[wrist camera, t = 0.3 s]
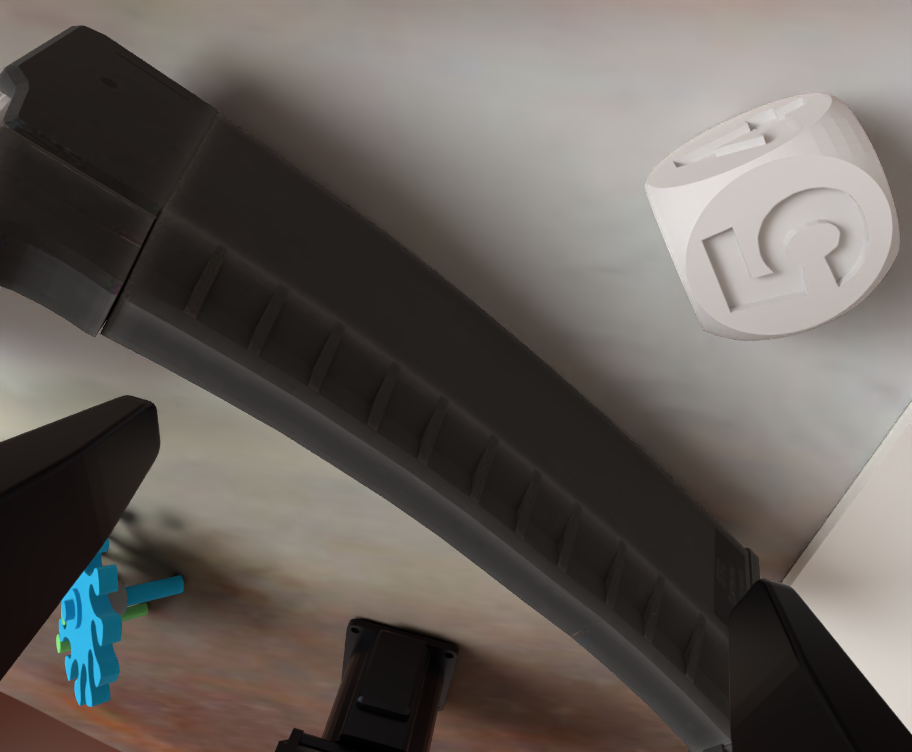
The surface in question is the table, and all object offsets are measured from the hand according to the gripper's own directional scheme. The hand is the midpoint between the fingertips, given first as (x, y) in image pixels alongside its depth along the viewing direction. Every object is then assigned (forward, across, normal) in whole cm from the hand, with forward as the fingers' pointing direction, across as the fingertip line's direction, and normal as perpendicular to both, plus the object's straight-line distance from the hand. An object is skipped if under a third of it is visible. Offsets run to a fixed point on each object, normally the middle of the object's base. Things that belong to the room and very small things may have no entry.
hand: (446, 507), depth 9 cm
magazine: (+15, +1, +6) cm, 16 cm away
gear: (+14, +17, +26) cm, 34 cm away
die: (+15, -6, -2) cm, 16 cm away
